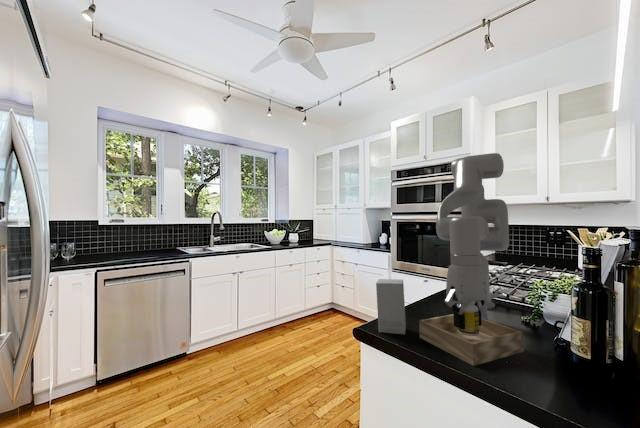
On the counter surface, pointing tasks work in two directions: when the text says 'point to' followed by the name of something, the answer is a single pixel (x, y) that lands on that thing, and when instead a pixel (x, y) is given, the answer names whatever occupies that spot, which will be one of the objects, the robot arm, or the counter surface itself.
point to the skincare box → (391, 306)
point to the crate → (472, 340)
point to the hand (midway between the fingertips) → (467, 325)
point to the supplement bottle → (470, 320)
